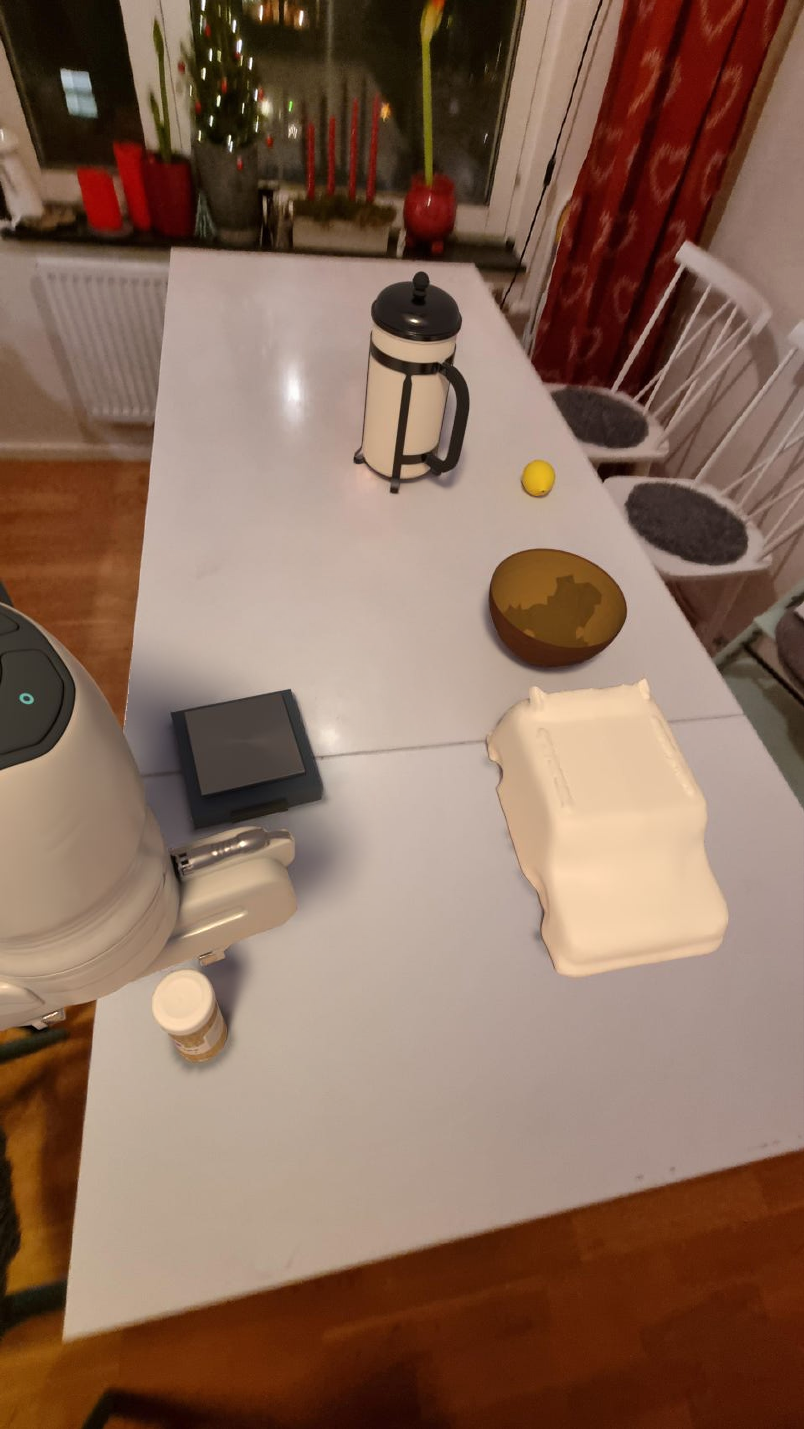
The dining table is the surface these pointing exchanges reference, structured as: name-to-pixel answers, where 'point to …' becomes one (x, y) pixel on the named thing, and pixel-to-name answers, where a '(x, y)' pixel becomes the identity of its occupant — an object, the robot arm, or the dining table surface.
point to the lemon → (538, 477)
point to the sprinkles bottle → (189, 1014)
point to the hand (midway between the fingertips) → (134, 979)
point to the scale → (250, 799)
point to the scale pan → (243, 745)
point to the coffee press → (412, 381)
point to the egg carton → (608, 828)
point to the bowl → (555, 607)
